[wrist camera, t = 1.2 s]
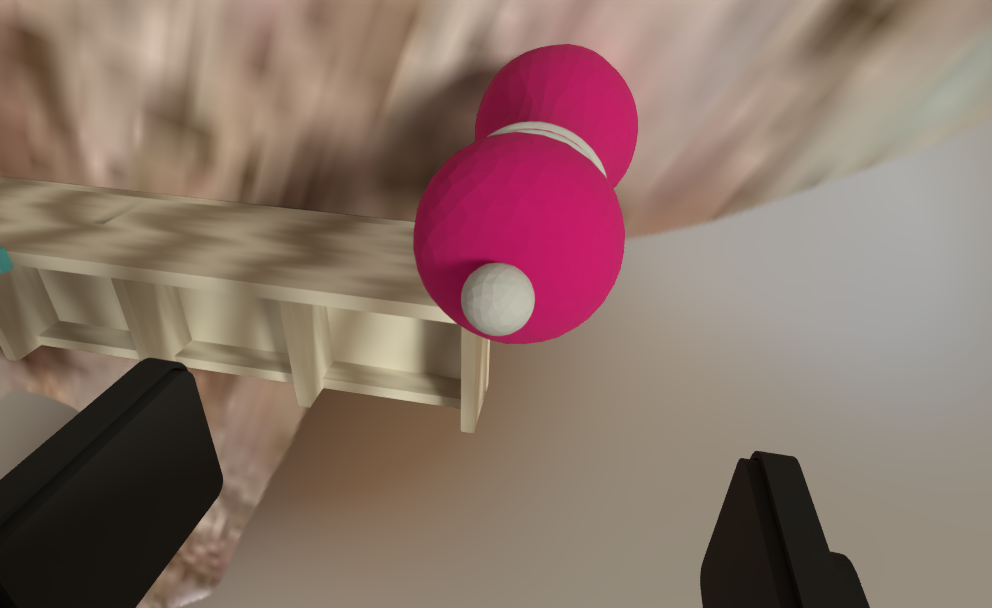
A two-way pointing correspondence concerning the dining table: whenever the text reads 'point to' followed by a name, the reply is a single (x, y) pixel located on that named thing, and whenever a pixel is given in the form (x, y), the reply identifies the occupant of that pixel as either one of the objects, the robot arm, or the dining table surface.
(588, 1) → the dining table surface
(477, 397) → the rack
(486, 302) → the pepper mill
